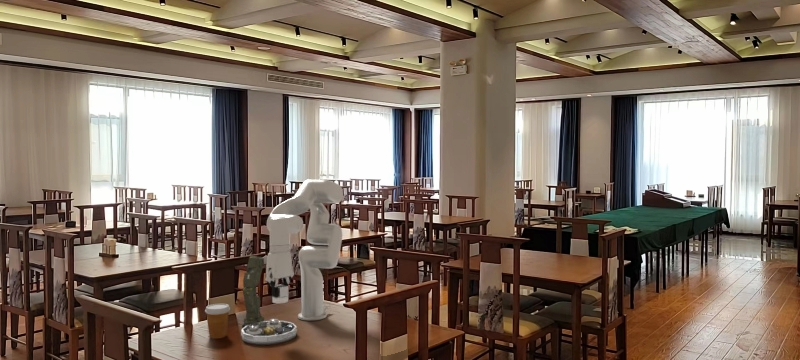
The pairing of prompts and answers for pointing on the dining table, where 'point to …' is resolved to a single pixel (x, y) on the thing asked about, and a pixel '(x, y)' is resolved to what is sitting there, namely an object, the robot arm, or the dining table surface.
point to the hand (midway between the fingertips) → (280, 294)
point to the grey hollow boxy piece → (281, 294)
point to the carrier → (268, 332)
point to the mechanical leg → (252, 290)
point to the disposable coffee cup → (217, 319)
